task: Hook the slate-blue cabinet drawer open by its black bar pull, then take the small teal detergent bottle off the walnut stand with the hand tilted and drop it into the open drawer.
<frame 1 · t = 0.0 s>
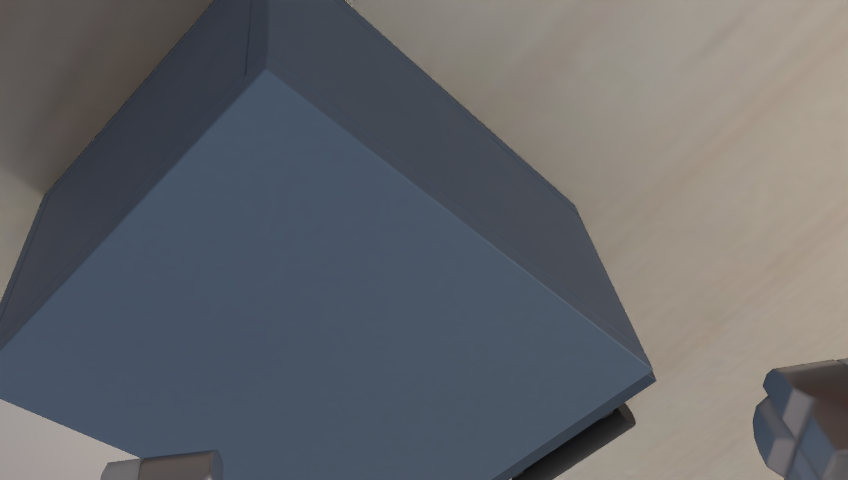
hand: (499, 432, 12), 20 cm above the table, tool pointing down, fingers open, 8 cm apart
cabinet: (323, 201, 33), on the table
drawer: (419, 336, 32), point 5 cm above the table, slide at 0.5 cm
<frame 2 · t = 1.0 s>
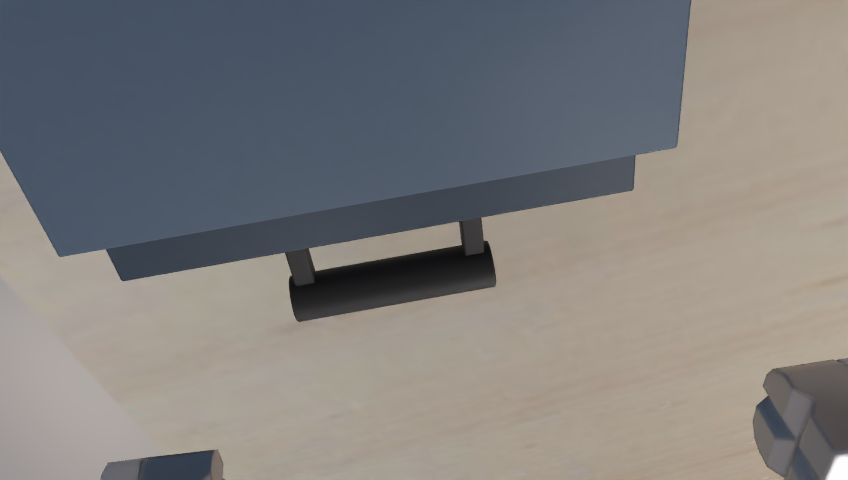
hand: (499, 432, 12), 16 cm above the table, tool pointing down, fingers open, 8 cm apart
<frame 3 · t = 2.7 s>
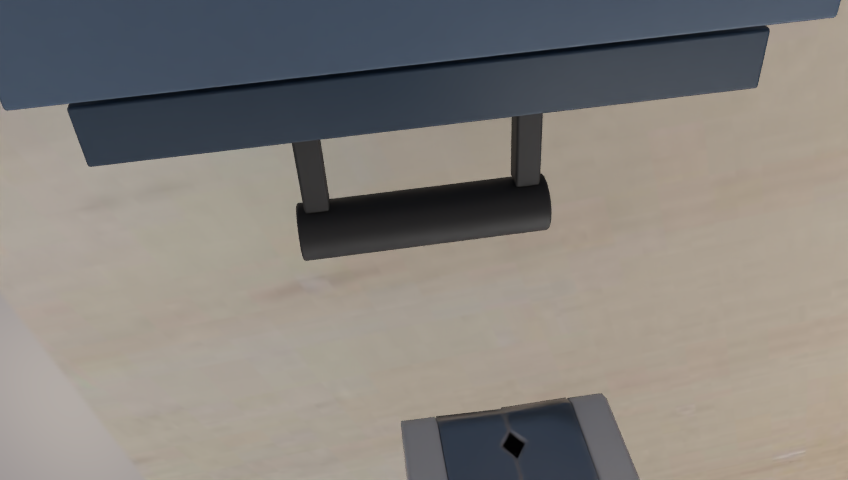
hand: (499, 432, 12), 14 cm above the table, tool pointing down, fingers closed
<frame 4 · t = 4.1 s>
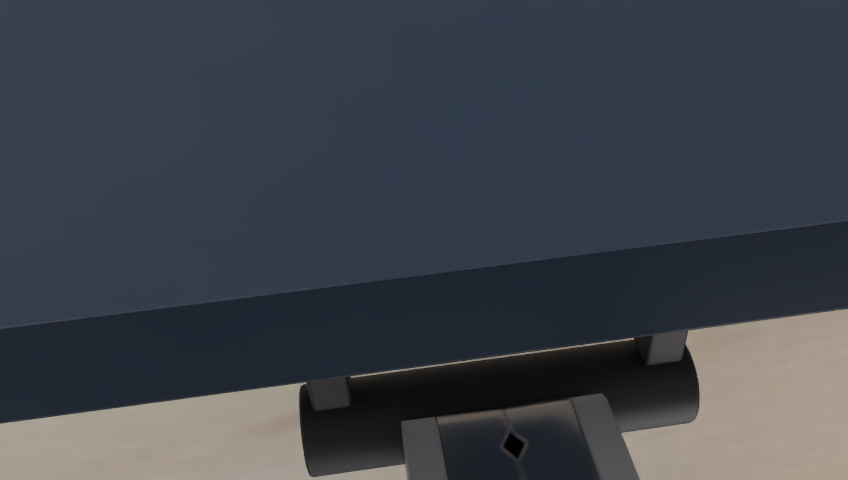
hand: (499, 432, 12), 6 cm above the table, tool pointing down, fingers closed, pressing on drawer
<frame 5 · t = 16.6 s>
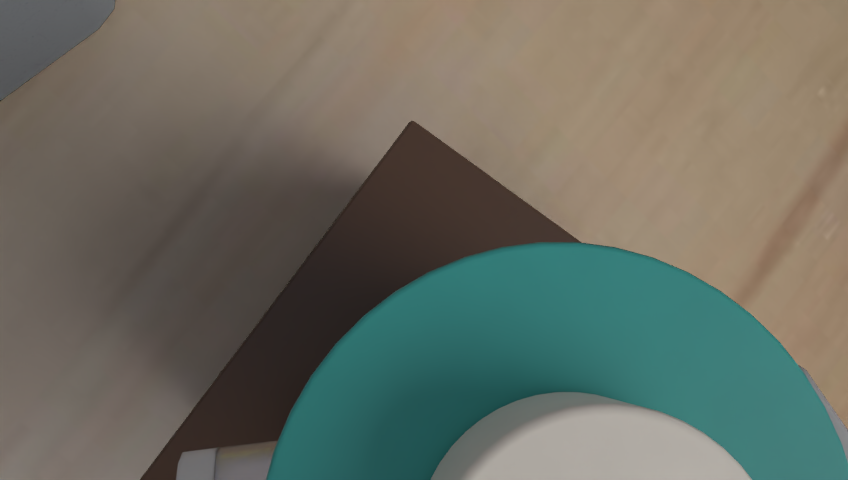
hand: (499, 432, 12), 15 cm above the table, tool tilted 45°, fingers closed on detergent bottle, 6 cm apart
detergent bottle: (460, 430, 18), point 9 cm above the table, touching gripper, stand
stand: (433, 398, 27), on the table
when the fingers open (13 cm above the table, at t = 28.7 s): detergent bottle drops 5 cm, resting on drawer.
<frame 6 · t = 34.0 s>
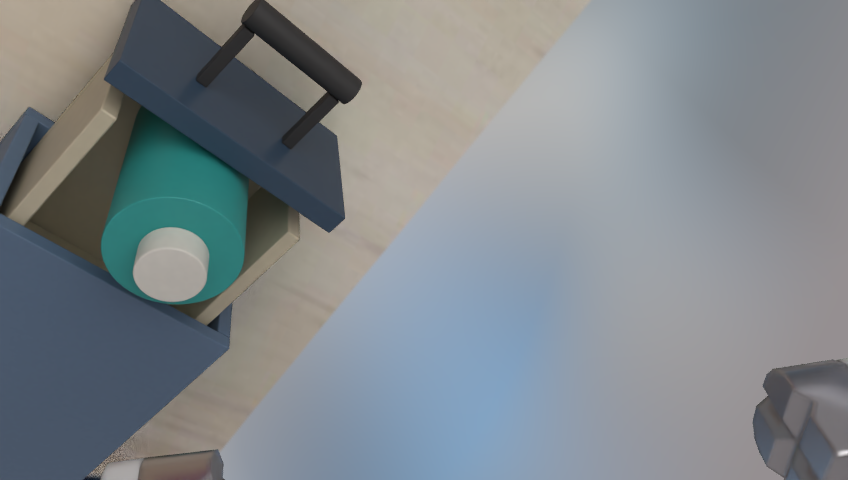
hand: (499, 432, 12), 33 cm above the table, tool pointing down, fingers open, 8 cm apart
cabinet: (61, 263, 49), on the table
drawer: (179, 173, 41), point 5 cm above the table, slide at 8.5 cm, touching detergent bottle
detergent bottle: (193, 135, 43), point 2 cm above the table, touching drawer
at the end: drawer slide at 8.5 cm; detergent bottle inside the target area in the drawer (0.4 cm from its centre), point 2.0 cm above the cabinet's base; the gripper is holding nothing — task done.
